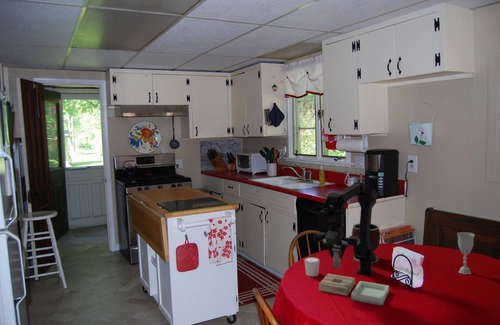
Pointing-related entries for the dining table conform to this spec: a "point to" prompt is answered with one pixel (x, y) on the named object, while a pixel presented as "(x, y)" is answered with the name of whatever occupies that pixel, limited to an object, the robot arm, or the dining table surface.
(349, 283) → the hole block
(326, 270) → the dining table surface
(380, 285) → the tray
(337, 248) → the pin
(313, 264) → the cup
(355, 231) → the mate gourd
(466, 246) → the chalice
